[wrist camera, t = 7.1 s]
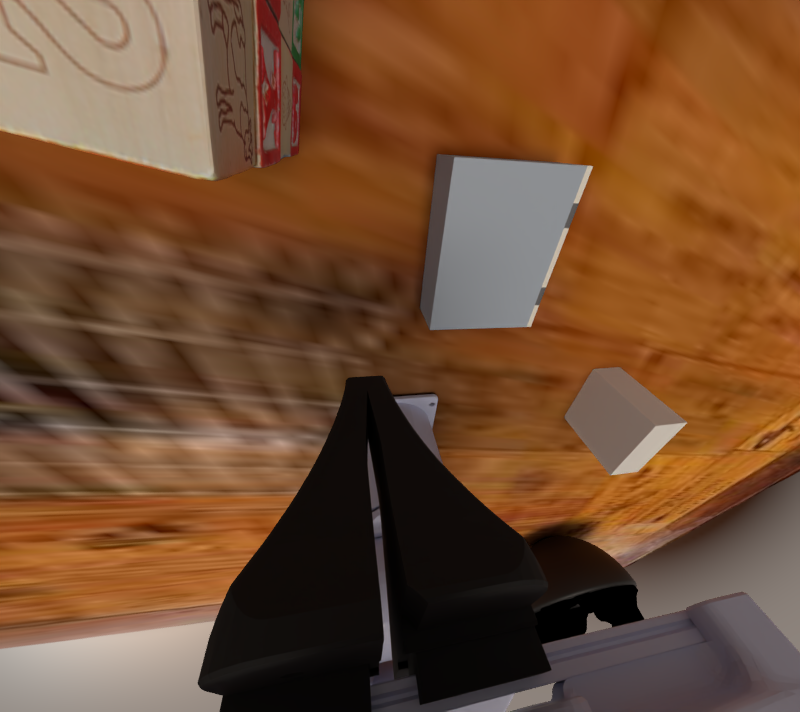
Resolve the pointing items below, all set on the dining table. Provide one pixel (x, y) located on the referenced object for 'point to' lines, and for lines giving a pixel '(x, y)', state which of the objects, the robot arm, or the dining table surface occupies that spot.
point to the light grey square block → (621, 420)
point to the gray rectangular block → (495, 238)
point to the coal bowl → (581, 588)
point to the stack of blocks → (156, 80)
